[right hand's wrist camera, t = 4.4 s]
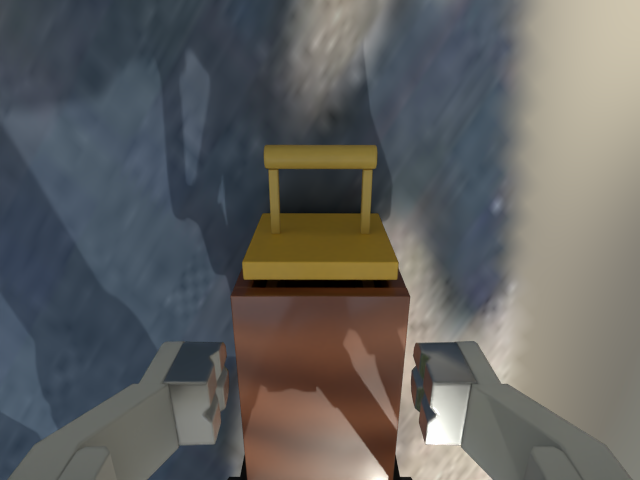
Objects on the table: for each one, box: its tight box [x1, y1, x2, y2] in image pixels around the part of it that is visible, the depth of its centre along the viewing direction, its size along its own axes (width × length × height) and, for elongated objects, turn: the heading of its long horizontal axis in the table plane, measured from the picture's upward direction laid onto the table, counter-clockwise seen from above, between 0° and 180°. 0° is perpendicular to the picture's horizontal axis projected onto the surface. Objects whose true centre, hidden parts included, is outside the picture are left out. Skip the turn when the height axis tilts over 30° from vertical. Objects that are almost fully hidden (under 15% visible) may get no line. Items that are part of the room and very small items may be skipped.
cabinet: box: [231, 267, 410, 480], centre depth 33 cm, size 22×10×11 cm, turn 0°
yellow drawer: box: [242, 145, 399, 288], centre depth 31 cm, size 26×9×9 cm, turn 0°
